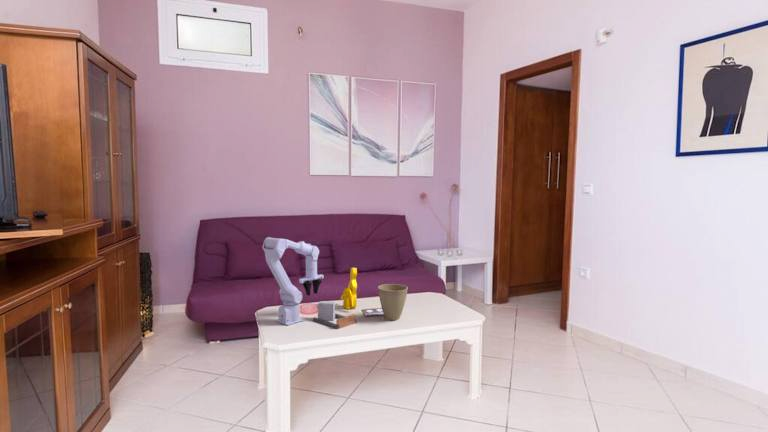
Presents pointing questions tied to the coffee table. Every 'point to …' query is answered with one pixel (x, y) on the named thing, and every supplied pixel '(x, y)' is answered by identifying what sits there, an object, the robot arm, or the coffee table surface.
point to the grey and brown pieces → (338, 321)
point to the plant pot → (392, 300)
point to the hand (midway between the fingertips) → (311, 294)
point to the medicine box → (326, 310)
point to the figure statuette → (350, 291)
